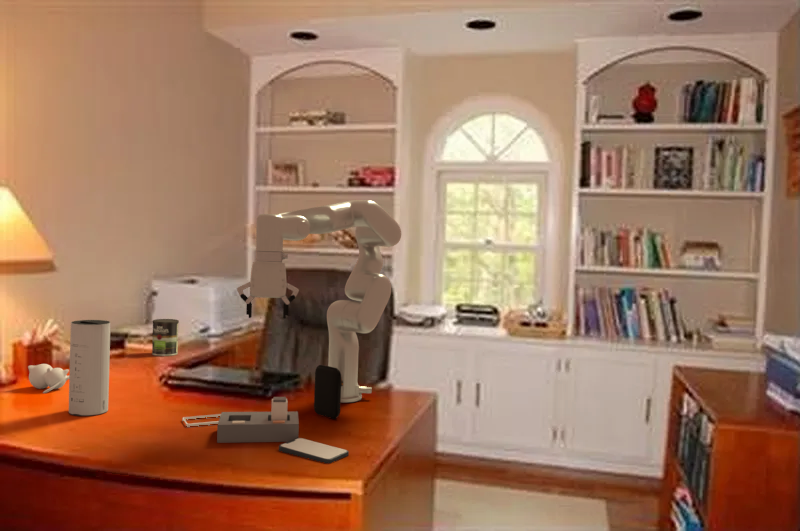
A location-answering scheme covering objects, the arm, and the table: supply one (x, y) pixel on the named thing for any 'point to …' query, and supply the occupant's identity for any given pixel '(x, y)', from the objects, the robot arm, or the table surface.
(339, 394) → the carrying case or bag
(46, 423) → the table surface
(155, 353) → the coffee can
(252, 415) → the hub
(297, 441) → the phone case
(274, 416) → the plug
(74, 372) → the speaker
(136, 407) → the table surface
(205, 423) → the phone case
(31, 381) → the cat figurine
